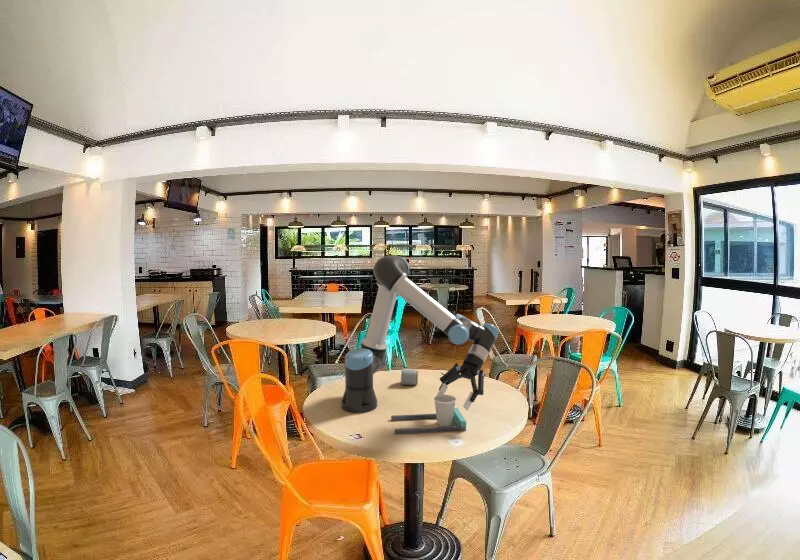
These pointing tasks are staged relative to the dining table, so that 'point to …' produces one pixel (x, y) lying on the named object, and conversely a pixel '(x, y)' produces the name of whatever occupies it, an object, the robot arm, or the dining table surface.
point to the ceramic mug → (409, 377)
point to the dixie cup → (444, 409)
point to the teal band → (459, 418)
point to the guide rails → (423, 429)
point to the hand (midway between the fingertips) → (451, 403)
